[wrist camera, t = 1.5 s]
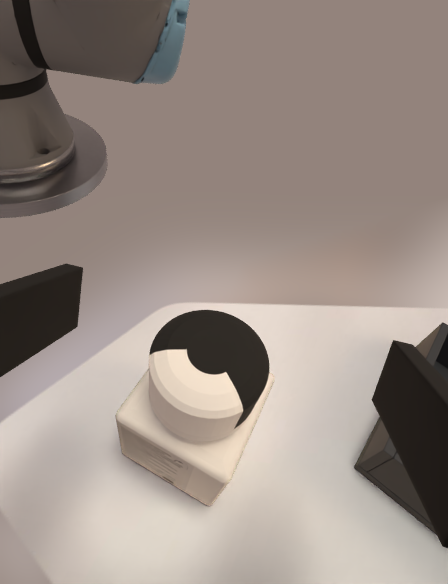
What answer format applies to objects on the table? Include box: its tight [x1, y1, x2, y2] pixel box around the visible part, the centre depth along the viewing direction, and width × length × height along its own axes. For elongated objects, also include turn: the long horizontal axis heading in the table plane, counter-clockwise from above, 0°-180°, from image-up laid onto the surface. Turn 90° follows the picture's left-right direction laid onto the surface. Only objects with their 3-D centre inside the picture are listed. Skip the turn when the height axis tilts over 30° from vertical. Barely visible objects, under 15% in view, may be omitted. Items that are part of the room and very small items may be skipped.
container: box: [116, 310, 274, 506], centre depth 24 cm, size 8×8×13 cm
